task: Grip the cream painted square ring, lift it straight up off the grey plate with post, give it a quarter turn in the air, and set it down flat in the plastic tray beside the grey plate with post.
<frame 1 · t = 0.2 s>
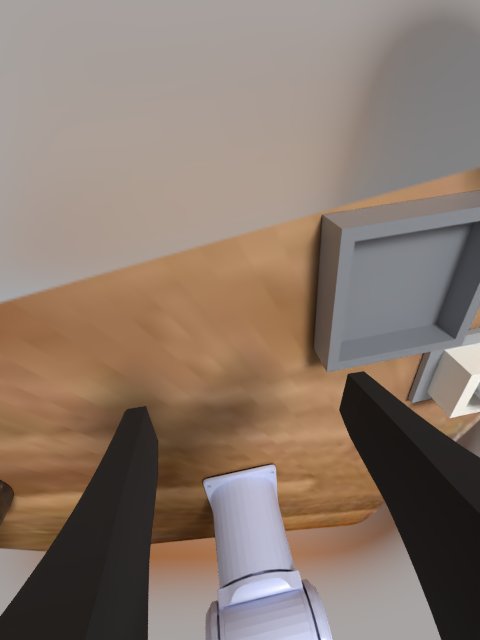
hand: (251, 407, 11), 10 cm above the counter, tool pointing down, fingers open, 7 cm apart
tray: (389, 279, 21), on the counter
ring: (462, 366, 27), point 1 cm above the counter, touching grey plate with post
grey plate with post: (457, 362, 28), on the counter
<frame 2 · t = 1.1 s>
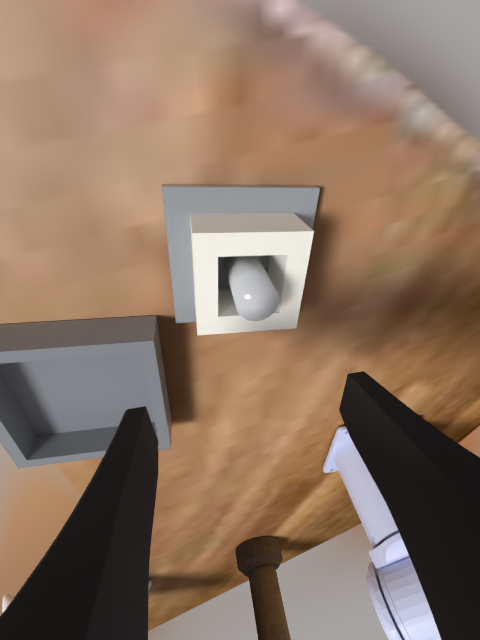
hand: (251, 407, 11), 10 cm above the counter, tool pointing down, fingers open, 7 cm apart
tray: (88, 381, 21), on the counter
mortar and pestle: (256, 543, 45), on the counter
ring: (241, 262, 17), point 1 cm above the counter, touching grey plate with post
grey plate with post: (239, 258, 18), on the counter
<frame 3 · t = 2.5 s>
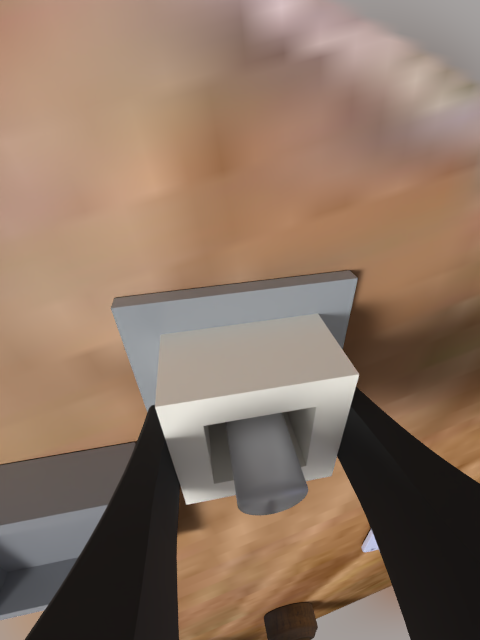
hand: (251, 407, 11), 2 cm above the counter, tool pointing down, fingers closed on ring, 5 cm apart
tray: (60, 514, 16), on the counter
mortar and pestle: (287, 608, 40), on the counter
ring: (244, 379, 12), point 1 cm above the counter, touching gripper, grey plate with post
grey plate with post: (241, 368, 12), on the counter
when the fingers open (3 cm above the counter, at t = 6.8 s): ring stays where it is, resting on tray.
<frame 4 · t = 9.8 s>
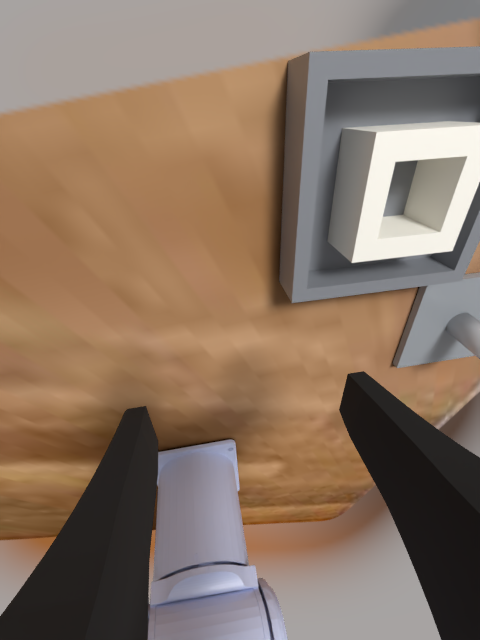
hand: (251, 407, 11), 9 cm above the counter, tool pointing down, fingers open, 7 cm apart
tray: (376, 184, 16), on the counter
ring: (383, 186, 16), point 1 cm above the counter, touching tray
grey plate with post: (452, 318, 24), on the counter
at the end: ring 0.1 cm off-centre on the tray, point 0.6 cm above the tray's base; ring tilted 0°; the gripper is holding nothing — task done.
